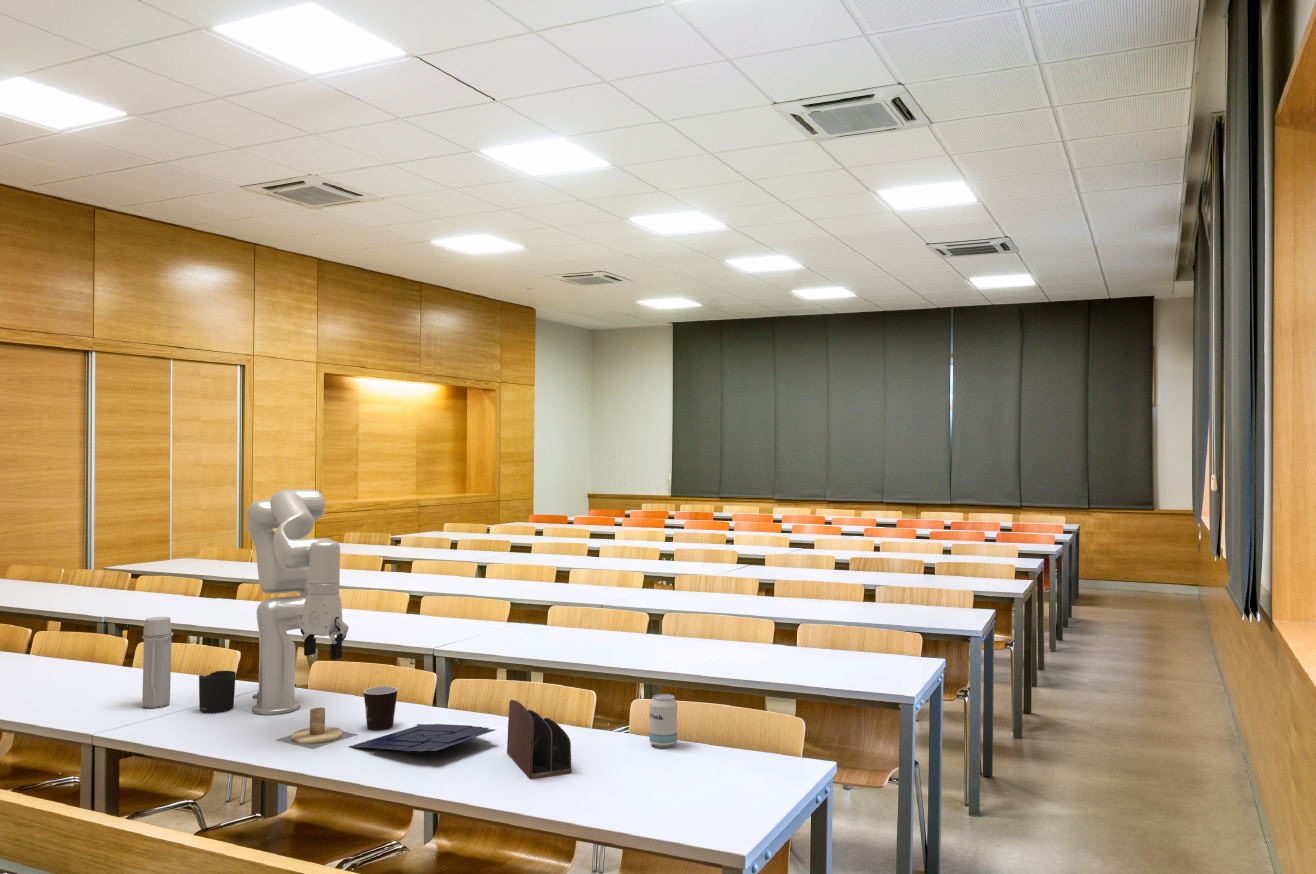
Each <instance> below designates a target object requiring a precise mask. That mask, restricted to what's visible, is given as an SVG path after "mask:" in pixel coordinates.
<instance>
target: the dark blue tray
mask: <svg viewBox="0 0 1316 874" xmlns="http://www.w3.org/2000/svg"><path fill="white" fill-rule="evenodd" d="M495 731H496V729H495V728H493V729H491V728H490V727H482V726H475V725H466V724H465V725H464V724H463V725H462V724H461V725H460V724H445V723H442V724H441V723H435V724H433V723H432V724H431V723H430V724H429V723H428V724H422V723H418V724H416V725H415V726H413V727H409V728H405V729H403V730H399V731H395V732H392V733H389V734H385V735H383V736H379V737H375V738H373V739H368V740H366V741H362V742H359V743H355V744H352V745H349V746H348V748H359V749H360V748H367V749H370V748H371V749H385V750H398V751H403V752H404V751H405V752H412V751H413V752H425V751H431V752H432V751H435V752H437V751H439V750H443V749H445V748H448V747H450V746H454V745H456V744H459V743H462V742H465V741H467V740H470V739H473V738H477V737H479V736H482V735H485V734H488V733H491V732H495Z"/></svg>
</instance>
